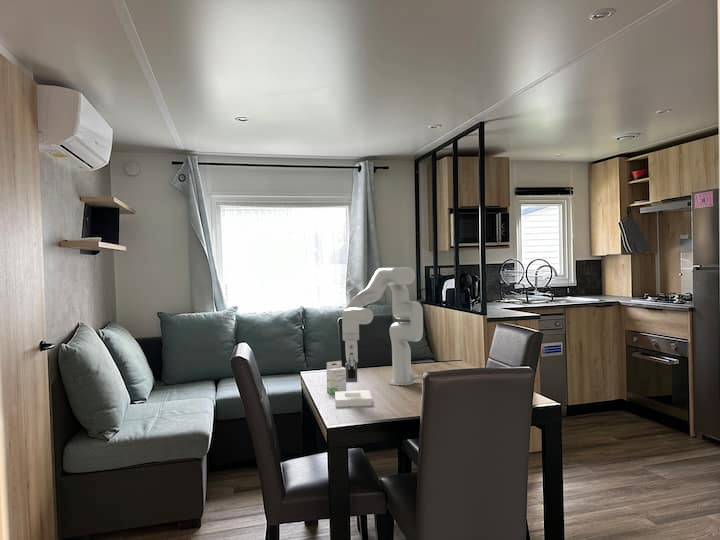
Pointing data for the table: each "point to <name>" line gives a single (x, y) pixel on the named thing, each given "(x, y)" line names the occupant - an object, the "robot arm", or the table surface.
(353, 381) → the plug
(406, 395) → the table surface
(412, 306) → the robot arm
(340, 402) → the socket
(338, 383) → the ink box
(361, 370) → the table surface
